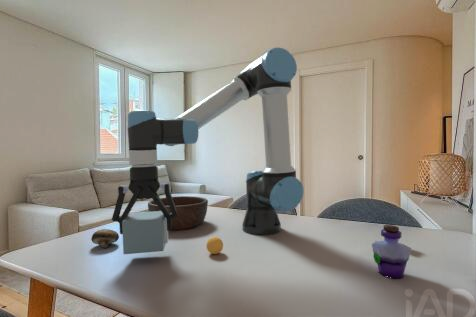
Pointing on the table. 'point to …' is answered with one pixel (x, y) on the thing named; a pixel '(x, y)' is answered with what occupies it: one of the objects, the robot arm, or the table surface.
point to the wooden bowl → (184, 211)
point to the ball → (214, 245)
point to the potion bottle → (391, 253)
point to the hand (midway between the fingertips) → (147, 243)
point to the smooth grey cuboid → (143, 232)
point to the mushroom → (104, 237)
